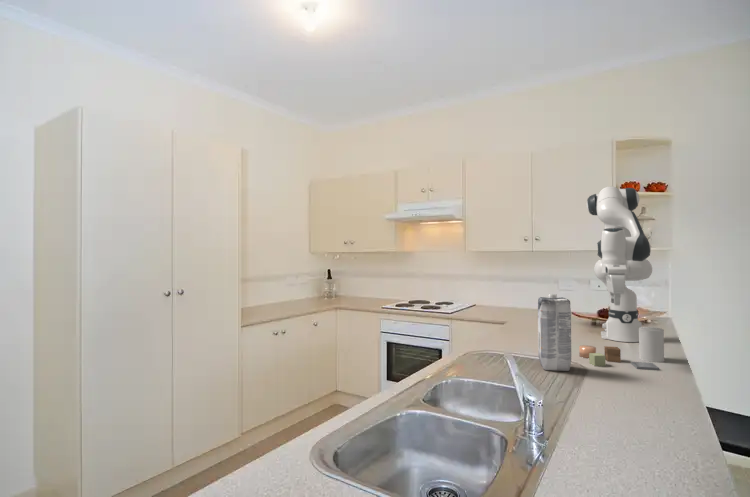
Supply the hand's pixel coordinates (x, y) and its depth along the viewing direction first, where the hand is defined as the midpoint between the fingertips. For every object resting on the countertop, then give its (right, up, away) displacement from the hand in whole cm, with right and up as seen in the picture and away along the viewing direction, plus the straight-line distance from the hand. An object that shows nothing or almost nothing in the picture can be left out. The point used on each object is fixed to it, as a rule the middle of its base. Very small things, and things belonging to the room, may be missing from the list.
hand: (615, 304), depth 164 cm
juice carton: (-28, -22, -11) cm, 38 cm away
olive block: (-10, -22, -6) cm, 25 cm away
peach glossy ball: (-8, -22, +5) cm, 24 cm away
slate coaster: (+5, -22, -10) cm, 24 cm away
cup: (+14, -22, 0) cm, 26 cm away
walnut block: (-2, -22, -1) cm, 22 cm away
